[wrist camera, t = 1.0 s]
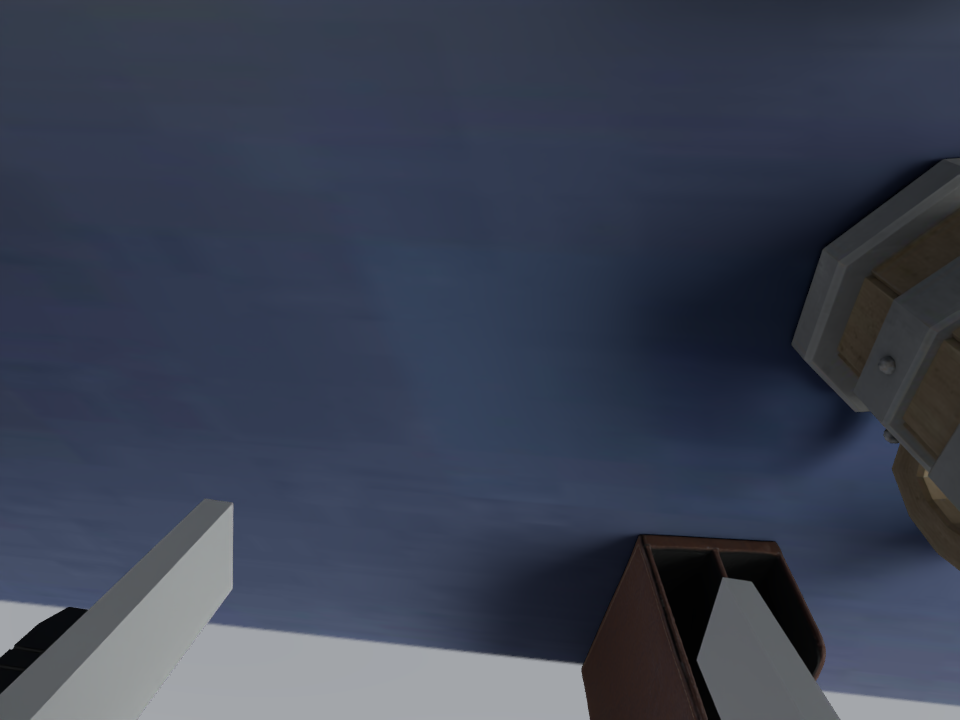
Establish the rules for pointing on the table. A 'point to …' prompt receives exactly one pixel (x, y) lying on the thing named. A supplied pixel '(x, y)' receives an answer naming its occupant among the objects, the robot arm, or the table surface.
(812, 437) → the table surface
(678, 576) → the letter holder
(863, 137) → the table surface
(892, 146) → the table surface
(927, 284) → the tankard
